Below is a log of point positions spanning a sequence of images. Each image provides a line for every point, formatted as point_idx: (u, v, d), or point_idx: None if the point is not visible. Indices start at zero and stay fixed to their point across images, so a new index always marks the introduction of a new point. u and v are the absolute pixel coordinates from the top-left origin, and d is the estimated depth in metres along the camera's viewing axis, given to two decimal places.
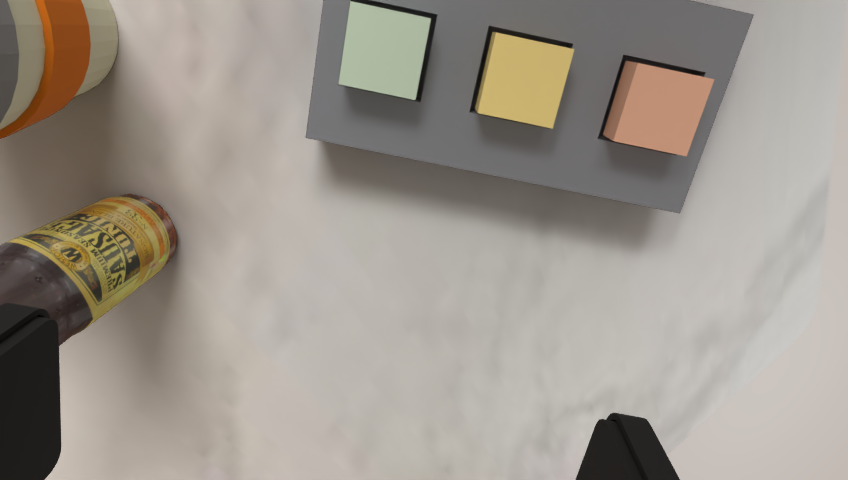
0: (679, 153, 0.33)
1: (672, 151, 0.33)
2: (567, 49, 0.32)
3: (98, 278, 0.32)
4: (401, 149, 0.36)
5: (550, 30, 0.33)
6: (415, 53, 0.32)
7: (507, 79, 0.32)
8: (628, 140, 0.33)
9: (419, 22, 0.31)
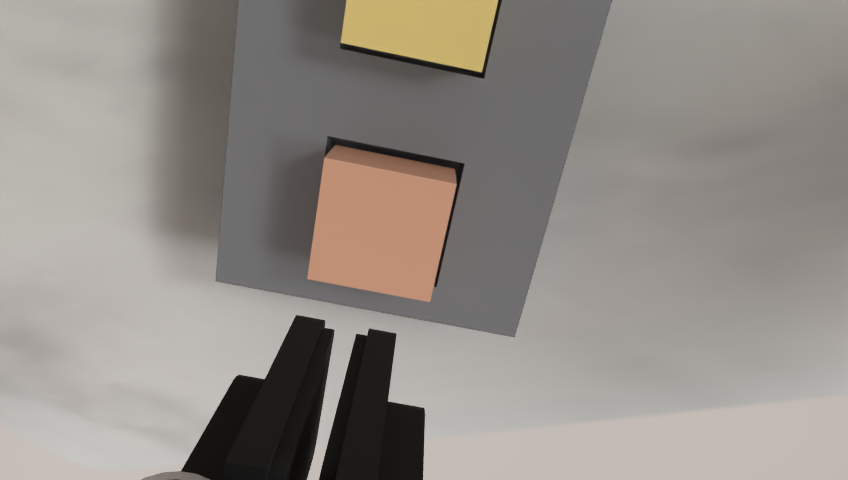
0: (311, 267, 0.20)
1: (313, 256, 0.20)
2: (481, 59, 0.18)
3: None
4: None
5: (507, 36, 0.19)
6: None
7: None
8: (327, 183, 0.19)
9: None
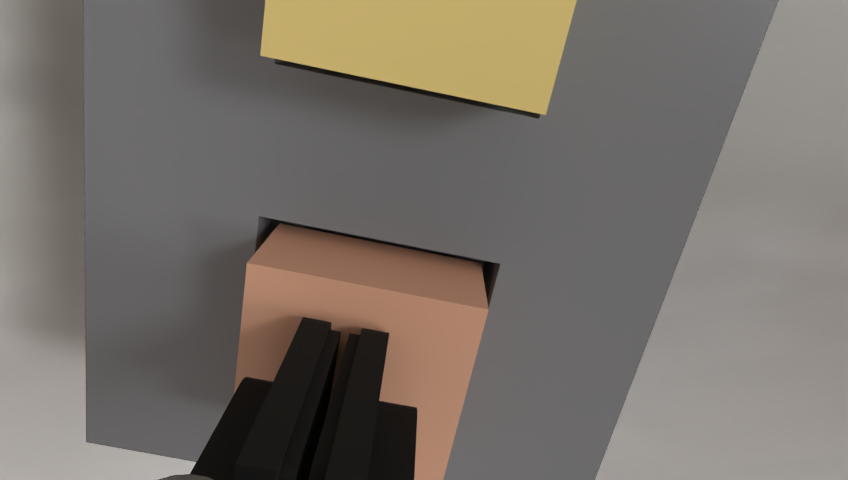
0: None
1: None
2: (546, 89, 0.09)
3: None
4: None
5: (584, 41, 0.10)
6: None
7: None
8: (254, 306, 0.11)
9: None
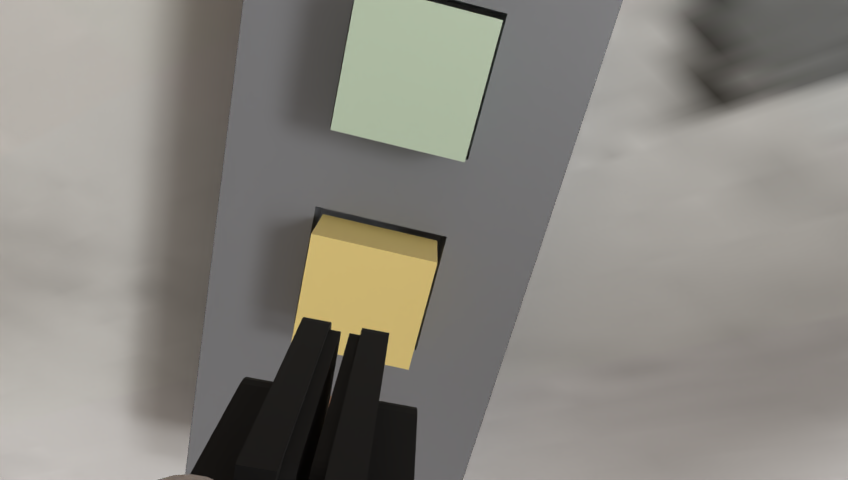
0: None
1: None
2: (408, 360, 0.21)
3: None
4: (246, 88, 0.20)
5: (435, 320, 0.23)
6: (409, 132, 0.18)
7: (365, 279, 0.20)
8: None
9: (458, 142, 0.18)
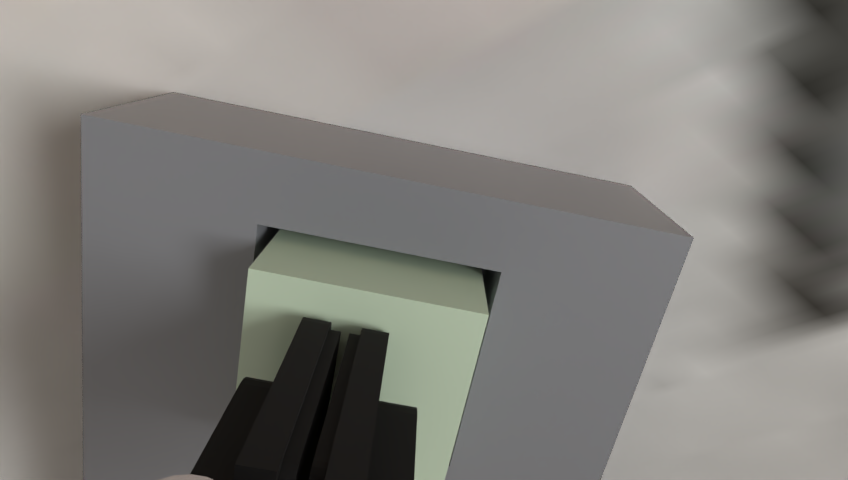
0: None
1: None
2: None
3: None
4: (103, 380, 0.13)
5: None
6: None
7: None
8: None
9: (428, 476, 0.12)
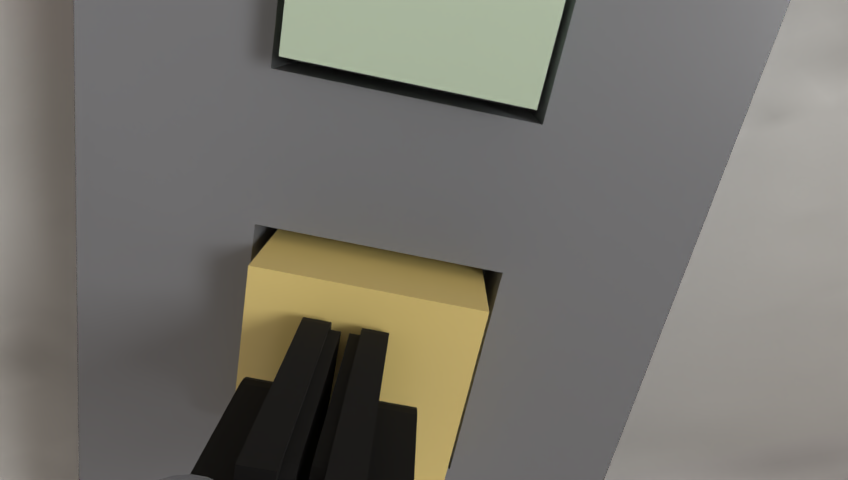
0: None
1: None
2: None
3: None
4: None
5: (483, 419, 0.13)
6: (430, 56, 0.10)
7: None
8: None
9: (525, 71, 0.10)
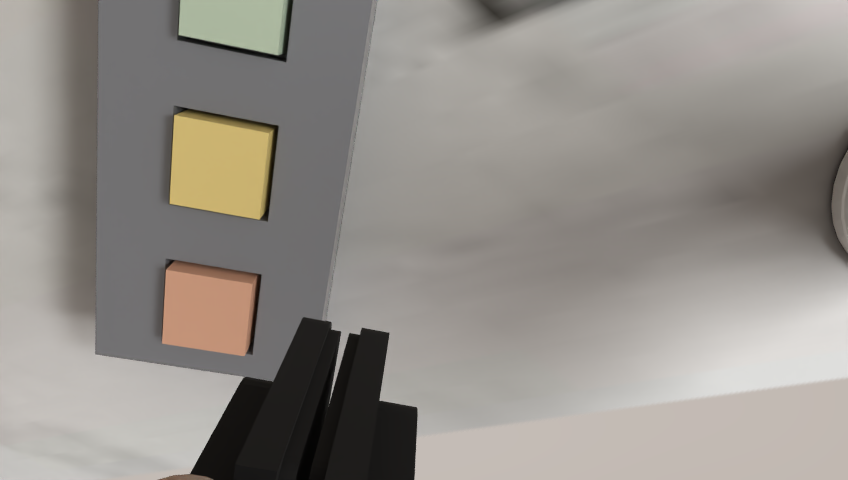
0: (163, 336, 0.31)
1: (164, 329, 0.31)
2: (258, 212, 0.29)
3: None
4: (108, 12, 0.26)
5: (279, 196, 0.29)
6: (235, 34, 0.26)
7: (217, 149, 0.28)
8: (169, 285, 0.30)
9: (271, 40, 0.26)
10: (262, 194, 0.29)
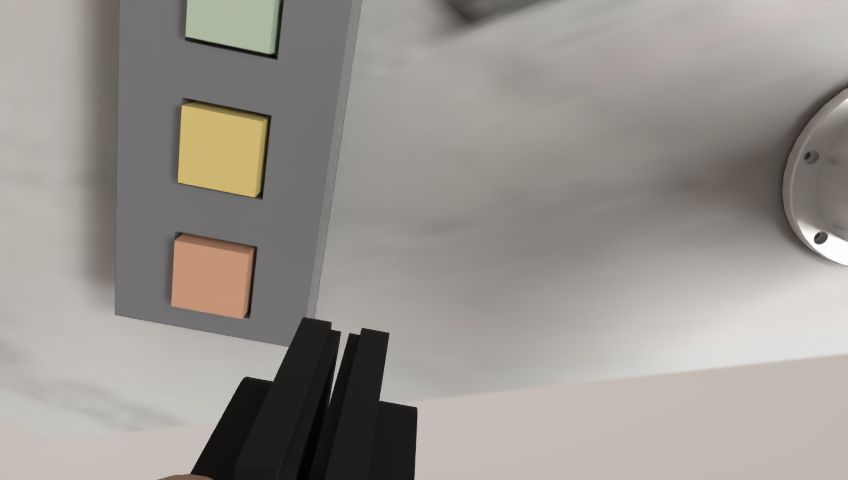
0: (172, 299, 0.36)
1: (173, 293, 0.35)
2: (253, 190, 0.33)
3: None
4: (127, 17, 0.31)
5: (272, 177, 0.33)
6: (233, 36, 0.30)
7: (218, 135, 0.32)
8: (177, 254, 0.34)
9: (263, 41, 0.30)
10: (257, 175, 0.33)
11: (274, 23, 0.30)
